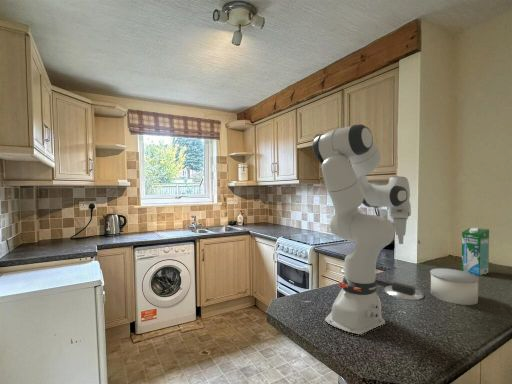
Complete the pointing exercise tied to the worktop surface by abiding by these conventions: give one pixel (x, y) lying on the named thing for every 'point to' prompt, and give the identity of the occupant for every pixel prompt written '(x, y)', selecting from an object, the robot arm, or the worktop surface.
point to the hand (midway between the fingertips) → (401, 241)
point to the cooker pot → (454, 286)
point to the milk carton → (475, 251)
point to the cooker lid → (404, 291)
